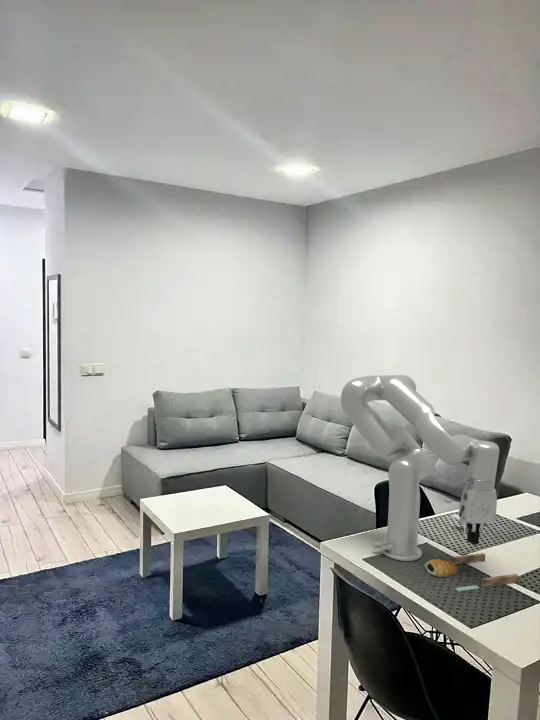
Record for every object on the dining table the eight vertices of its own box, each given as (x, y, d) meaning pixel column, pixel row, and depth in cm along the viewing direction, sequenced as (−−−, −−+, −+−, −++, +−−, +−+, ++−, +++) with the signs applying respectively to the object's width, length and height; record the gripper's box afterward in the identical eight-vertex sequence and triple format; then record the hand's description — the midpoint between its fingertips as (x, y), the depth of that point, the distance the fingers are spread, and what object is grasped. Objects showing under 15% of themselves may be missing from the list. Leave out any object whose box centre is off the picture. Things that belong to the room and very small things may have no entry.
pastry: (449, 565, 173) (450, 554, 172) (463, 576, 166) (464, 564, 166) (422, 569, 170) (423, 557, 169) (435, 579, 163) (436, 567, 163)
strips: (458, 592, 156) (458, 590, 156) (424, 565, 172) (424, 564, 172) (479, 589, 158) (479, 587, 158) (443, 563, 174) (443, 562, 174)
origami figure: (482, 530, 202) (483, 516, 202) (479, 538, 195) (480, 524, 195) (448, 523, 208) (449, 510, 208) (443, 530, 201) (444, 517, 200)
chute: (483, 587, 159) (484, 580, 159) (450, 563, 174) (450, 557, 174) (518, 582, 163) (518, 575, 163) (482, 559, 178) (483, 553, 178)
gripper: (467, 488, 159) (459, 550, 162) (510, 487, 164) (501, 547, 166) (451, 479, 166) (443, 538, 169) (492, 478, 171) (484, 536, 173)
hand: (472, 542), depth 168 cm, fingers closed
